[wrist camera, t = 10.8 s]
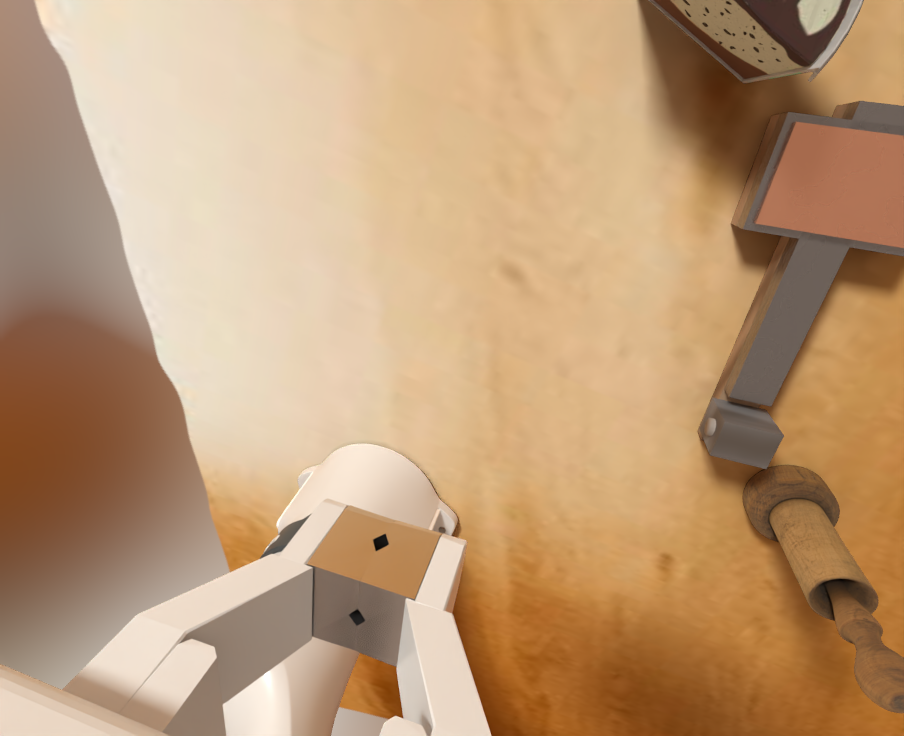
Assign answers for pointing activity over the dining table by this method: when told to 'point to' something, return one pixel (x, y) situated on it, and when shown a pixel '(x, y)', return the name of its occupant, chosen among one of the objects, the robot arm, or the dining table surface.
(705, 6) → the food container
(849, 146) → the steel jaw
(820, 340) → the dining table surface
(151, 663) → the robot arm
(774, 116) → the walnut jaw
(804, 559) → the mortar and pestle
